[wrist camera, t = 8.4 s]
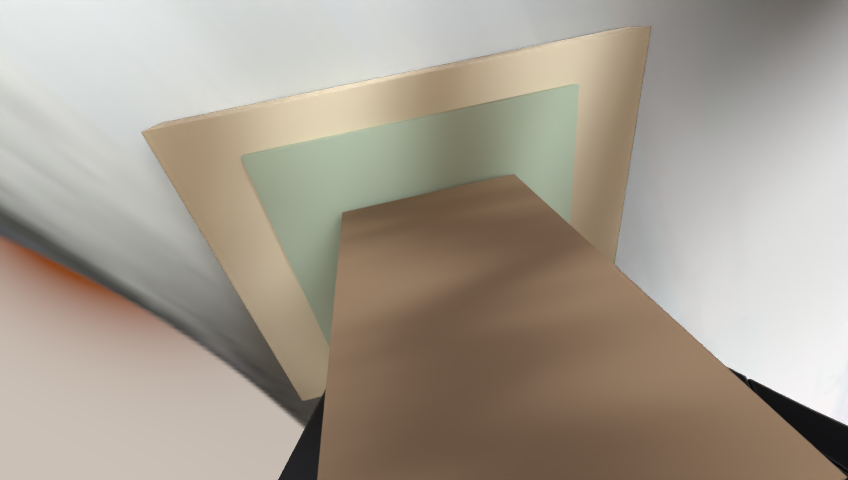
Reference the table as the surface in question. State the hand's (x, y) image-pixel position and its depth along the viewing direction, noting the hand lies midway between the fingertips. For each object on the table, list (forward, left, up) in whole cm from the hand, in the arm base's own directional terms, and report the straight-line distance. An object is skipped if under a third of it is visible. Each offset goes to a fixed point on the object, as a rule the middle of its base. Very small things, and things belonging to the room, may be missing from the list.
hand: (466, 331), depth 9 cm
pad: (0, 0, -4) cm, 4 cm away
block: (0, 0, -3) cm, 3 cm away
